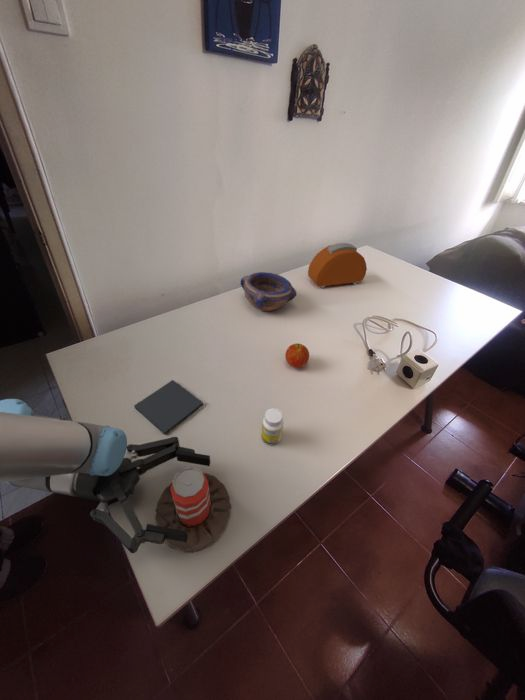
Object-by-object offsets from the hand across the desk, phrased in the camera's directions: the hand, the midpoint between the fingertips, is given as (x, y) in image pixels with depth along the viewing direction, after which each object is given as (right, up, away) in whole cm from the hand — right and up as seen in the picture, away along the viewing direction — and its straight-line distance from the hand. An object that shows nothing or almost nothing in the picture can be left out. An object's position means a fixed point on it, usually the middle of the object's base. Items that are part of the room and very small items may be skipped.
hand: (199, 495), depth 56 cm
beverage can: (-2, -5, +5) cm, 7 cm away
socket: (-2, -5, +5) cm, 7 cm away
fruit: (+21, +22, +38) cm, 49 cm away
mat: (-12, +12, +23) cm, 29 cm away
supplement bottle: (+13, +5, +18) cm, 23 cm away
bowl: (+13, +43, +63) cm, 77 cm away
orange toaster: (+43, +55, +80) cm, 106 cm away
